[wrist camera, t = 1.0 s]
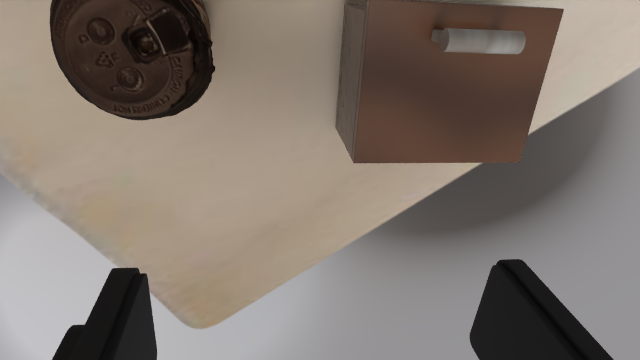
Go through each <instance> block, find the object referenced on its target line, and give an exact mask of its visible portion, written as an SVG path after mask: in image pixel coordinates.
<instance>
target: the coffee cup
mask: <svg viewBox="0 0 640 360" xmlns="http://www.w3.org/2000/svg"><path fill="white" fill-rule="evenodd" d="M50 31H51V41H52V46H53V51H54V54H55V57H56V59H57V62H58V65H59V67H60V69H61V70H62V72H63V73H64V75H65V76H66V78H67V79H68V81H69V82H70V84H71V85H72V86H73V87H74V88H75V90H76V91H77V92H78V93H79V94H80V95H81V96H82V97H84V98H85V99H86V100H87V101H89V102H90V103H93V104H94V105H96V106H97V107H98V108H100V109H102V110H104V111H106V112H108V113H111V114H114V115H116V116H119V117H122V118H127V119H131V120H148V119H155V118H162V117H166V116H173V115H176V114H178V113H180V112H181V111H183V110H185V109H187V108H189V107H190V106H192V105H193V104H194V103H196V102H197V101H198V100H199V99H200V98H201V96H202V95H203V94H204V92H205V90H207V88H208V86H209V83H210V82H211V79H212V73H213V72H214V71H215V66H214V65H213V58H212V51H211V46H212V43H213V42H212V41H211V32H210V28H209V21H208V17H207V14H206V12H205V9H204V6H203V4H202V2H201V1H200V0H52V3H51V8H50Z"/></svg>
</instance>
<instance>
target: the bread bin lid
mask: <svg viewBox="0 0 640 360" xmlns="http://www.w3.org/2000/svg"><path fill="white" fill-rule="evenodd" d="M563 11H564V9H560V8H545V7H526V6H508V5H489V4H470V3H452V2H433V1H414V0H367V4H366V15H365V25H364V36H363V46H362V56H361V67H360V77H359V88H358V98H357V109H356V119H355V130H354V140H353V151H352V161H353V163H482V162H520V159H521V156H522V152H523V149H524V145H525V142H526V138H527V135H528V132H529V128H530V125H531V121H532V118H533V114H534V111H535V107H536V104H537V101H538V97H539V94H540V90H541V87H542V83H543V80H544V76H545V73H546V70H547V66H548V63H549V59H550V56H551V52H552V49H553V45H554V42H555V38H556V35H557V32H558V28H559V25H560V21H561V18H562V14H563Z"/></svg>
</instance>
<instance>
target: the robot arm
mask: <svg viewBox="0 0 640 360" xmlns="http://www.w3.org/2000/svg"><path fill="white" fill-rule="evenodd" d="M470 342H471V345H472V348H473V349H474V351H475V353H476V354H477V356H478V358H479V359H480V360H613V359H612V358H611V356H610V355H609V354H608V353H607V352H606V351H605V350H604V349H603V348H602V347H601V345H600V344H599V343H598V342H597V341H596V340H595V339H594V338H593V337H592V336H591V335H590V333H589V332H588V331H587V330H586V329H585V328H584V327H583V326H582V325H581V324H580V322H579V321H578V320H577V319H576V318H575V317H574V316H573V315H572V314H571V313H570V312H569V310H567V308H566V307H565V306H564V305H563V304H562V303H561V302H560V301H559V299H558V298H556V296H555V295H554V294H553V293H552V292H551V291H550V290H549V288H548V287H547V286H546V285H545V284H544V283H543V282H542V281H541V280H540V279H539V278H538V276H537V275H536V274H535V273H534V272H533V271H532V270H531V269H530V268H529V267H528V266H527V264H526V263H525V262H524V261H522V260H519V259H513V260H499V261H498V262H497V264H496V265H494V266H493V267H492V269H491V271H490V274H489V277H488V280H487V283H486V286H485V289H484V292H483V295H482V298H481V302H480V305H479V307H478V311H477V314H476V317H475V320H474V323H473V326H472V329H471V332H470ZM52 360H157V346H156V339H155V331H154V323H153V316H152V308H151V301H150V293H149V285H148V278H147V274H145V273H143V274H140V272H139V269H138V268H113V269H112V270H111V272H110V274H109V276H108V278H107V280H106V282H105V284H104V286H103V288H102V291H101V292H100V295H99V297H98V299H97V301H96V303H95V305H94V307H93V309H92V311H91V313H90V316H89V318H88V320H87V322H86V324H85V325H73V326H71V327H70V328H69V329H68V331H67V333H66V334H65V336H64V338H63V340H62V342H61V344H60V346H59V347H58V349H57V351H56V353H55V355H54V357H53V359H52Z"/></svg>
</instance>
